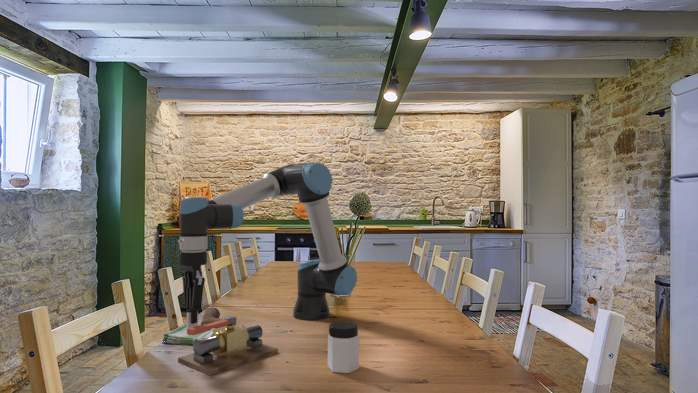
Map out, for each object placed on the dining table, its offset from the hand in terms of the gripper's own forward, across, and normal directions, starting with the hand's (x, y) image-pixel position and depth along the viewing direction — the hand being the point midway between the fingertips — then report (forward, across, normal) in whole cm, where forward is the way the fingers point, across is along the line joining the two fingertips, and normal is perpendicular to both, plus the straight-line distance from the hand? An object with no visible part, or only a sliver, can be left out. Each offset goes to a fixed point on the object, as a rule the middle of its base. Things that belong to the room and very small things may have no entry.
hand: (192, 333), depth 125 cm
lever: (-1, +3, +5) cm, 6 cm away
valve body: (+8, 0, +11) cm, 14 cm away
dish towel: (+10, -24, +12) cm, 28 cm away
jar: (+9, +27, +33) cm, 44 cm away
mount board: (+9, 0, +11) cm, 14 cm away
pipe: (+9, -34, +21) cm, 41 cm away
